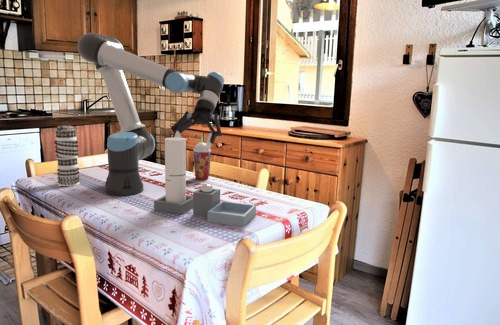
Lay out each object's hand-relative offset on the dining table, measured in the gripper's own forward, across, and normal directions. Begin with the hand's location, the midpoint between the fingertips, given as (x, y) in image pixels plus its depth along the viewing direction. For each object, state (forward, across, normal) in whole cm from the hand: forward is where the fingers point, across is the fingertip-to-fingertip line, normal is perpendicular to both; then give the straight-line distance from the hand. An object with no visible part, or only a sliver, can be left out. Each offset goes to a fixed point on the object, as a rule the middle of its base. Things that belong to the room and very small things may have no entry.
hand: (189, 148), depth 143 cm
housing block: (+22, -11, -7) cm, 25 cm away
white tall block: (+21, +1, -8) cm, 22 cm away
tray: (+23, -21, -6) cm, 32 cm away
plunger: (+17, -11, -3) cm, 21 cm away
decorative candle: (+13, +58, -16) cm, 62 cm away
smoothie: (-10, +11, -40) cm, 42 cm away
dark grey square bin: (+21, +1, -8) cm, 22 cm away
